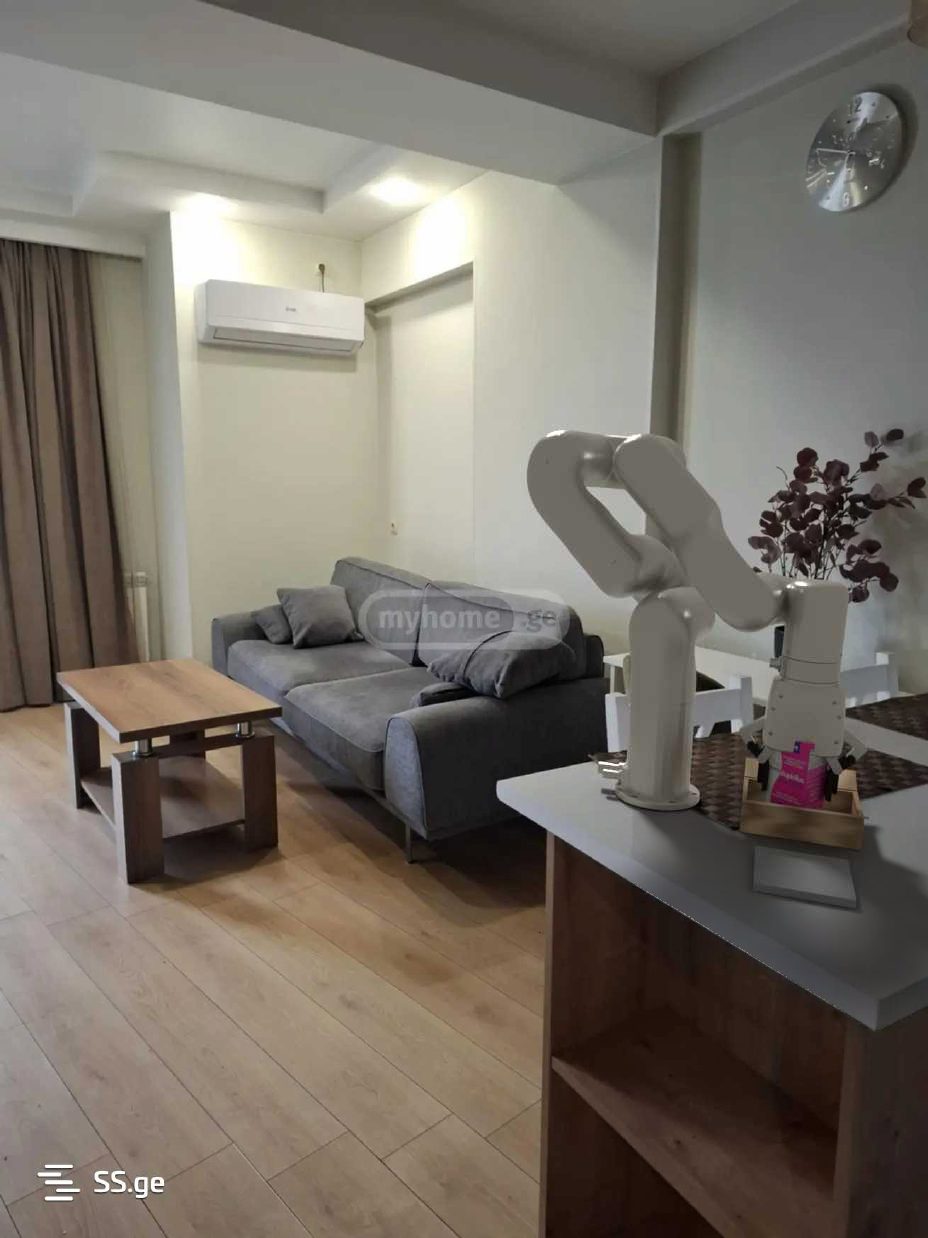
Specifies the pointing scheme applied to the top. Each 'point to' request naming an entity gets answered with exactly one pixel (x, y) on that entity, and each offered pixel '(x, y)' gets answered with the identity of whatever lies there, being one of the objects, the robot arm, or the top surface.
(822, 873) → the mat
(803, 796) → the supplement box
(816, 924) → the top surface
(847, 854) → the top surface
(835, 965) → the top surface
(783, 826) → the wooden crate
